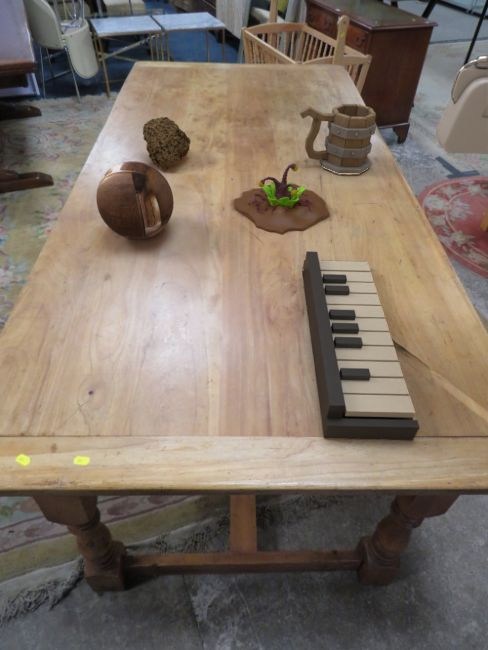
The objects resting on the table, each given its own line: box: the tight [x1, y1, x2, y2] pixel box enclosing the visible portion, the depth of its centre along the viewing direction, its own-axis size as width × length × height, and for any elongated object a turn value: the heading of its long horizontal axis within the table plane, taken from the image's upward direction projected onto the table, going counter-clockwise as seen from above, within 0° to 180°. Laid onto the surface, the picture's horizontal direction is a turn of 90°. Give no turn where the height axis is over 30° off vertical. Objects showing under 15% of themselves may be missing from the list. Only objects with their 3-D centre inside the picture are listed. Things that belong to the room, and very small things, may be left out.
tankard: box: [299, 103, 377, 174], centre depth 112 cm, size 20×13×15 cm, turn 92°
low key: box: [319, 260, 371, 272], centre depth 79 cm, size 9×3×1 cm, turn 89°
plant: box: [233, 163, 330, 235], centre depth 95 cm, size 20×20×11 cm
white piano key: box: [343, 394, 416, 419], centre depth 58 cm, size 9×3×1 cm, turn 89°
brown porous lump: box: [142, 116, 191, 171], centre depth 114 cm, size 11×13×15 cm
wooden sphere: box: [95, 160, 175, 240], centre depth 87 cm, size 15×15×15 cm
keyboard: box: [301, 250, 421, 441], centre depth 69 cm, size 12×36×6 cm, turn 179°
